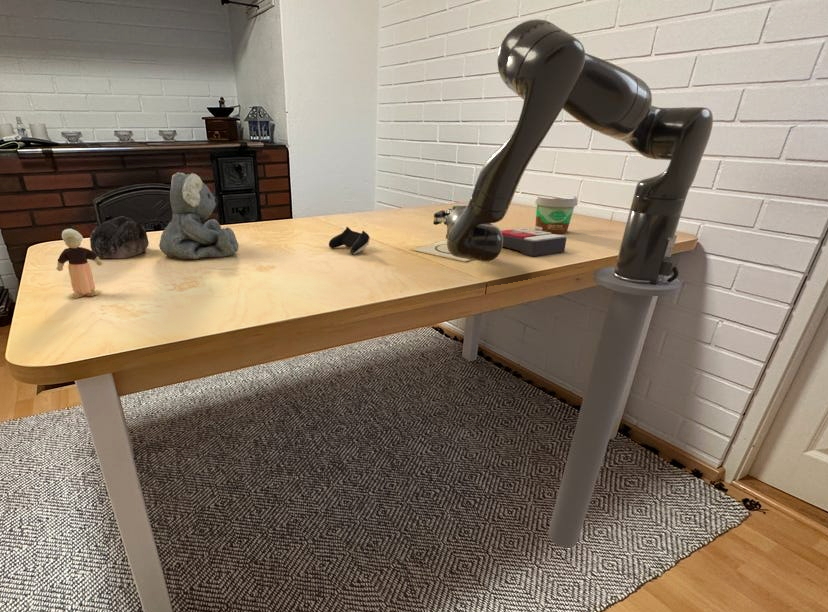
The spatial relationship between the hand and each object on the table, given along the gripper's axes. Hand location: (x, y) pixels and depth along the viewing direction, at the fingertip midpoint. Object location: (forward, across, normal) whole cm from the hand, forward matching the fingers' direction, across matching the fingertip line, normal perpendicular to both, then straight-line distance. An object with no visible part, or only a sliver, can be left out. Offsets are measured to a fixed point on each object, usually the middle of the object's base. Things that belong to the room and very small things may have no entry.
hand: (457, 212), depth 122 cm
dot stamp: (-3, 0, -6) cm, 7 cm away
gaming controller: (-7, -27, -9) cm, 30 cm away
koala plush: (-14, -66, -9) cm, 68 cm away
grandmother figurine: (-46, -75, -9) cm, 89 cm away
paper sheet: (-5, 0, -9) cm, 10 cm away
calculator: (-1, +19, -9) cm, 21 cm away
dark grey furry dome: (-15, -86, -9) cm, 87 cm away
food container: (+18, +31, -8) cm, 37 cm away
